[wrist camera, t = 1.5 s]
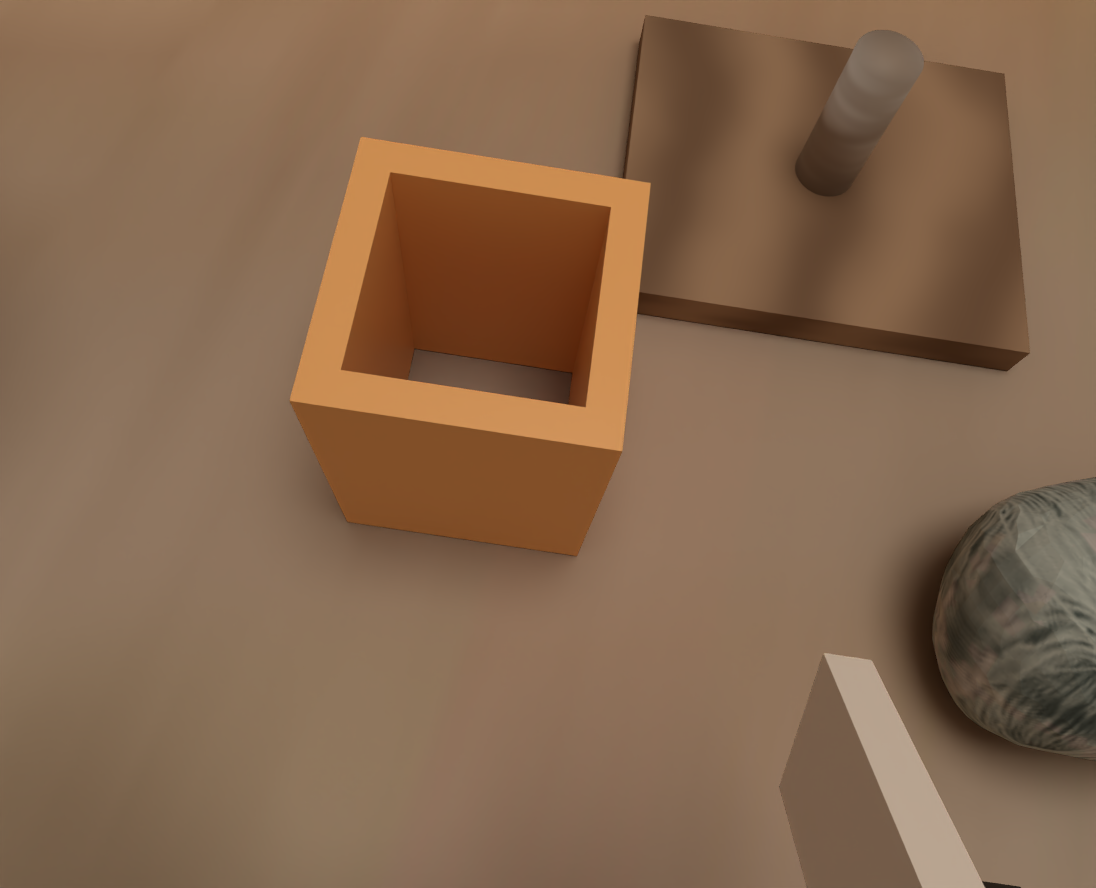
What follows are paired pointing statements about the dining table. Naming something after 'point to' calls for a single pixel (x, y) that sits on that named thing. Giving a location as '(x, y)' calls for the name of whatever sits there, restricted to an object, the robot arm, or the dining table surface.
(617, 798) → the dining table surface
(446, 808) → the dining table surface
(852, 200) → the shaft stand
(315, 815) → the dining table surface
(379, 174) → the spacer sleeve
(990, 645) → the grey green rounded lump
